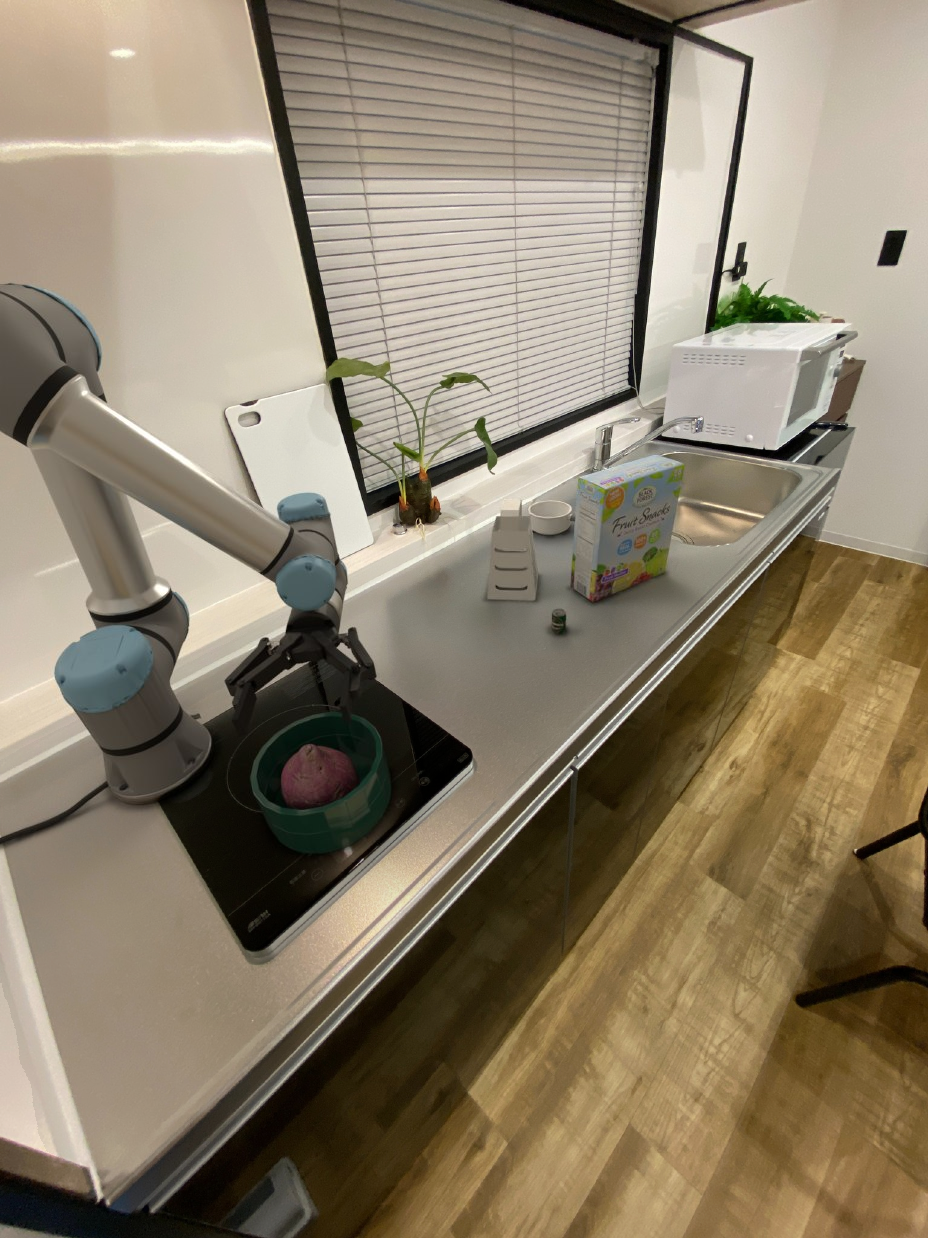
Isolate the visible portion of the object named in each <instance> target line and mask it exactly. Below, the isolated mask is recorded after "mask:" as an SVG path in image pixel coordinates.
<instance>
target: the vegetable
mask: <svg viewBox="0 0 928 1238" xmlns="http://www.w3.org/2000/svg"><path fill="white" fill-rule="evenodd" d="M359 785H360V782H359V777H358V774H357V771H356V768H355V765H354V764H353V762H352V761H351V759H350V758H349V757H348V756H347V755H345V754H344V753H342V752H340V751H337V750H334V749H331V748H328V747H324V746H315V745H313V744H307V745H304V746H303V747H302V748H301V749H300V750H299V752H297V753H296V754H294V755H293V756H292V757H291V758H290V759H289V761H288V762H287V763H286V765H285V767H284V769H283V771H282V776H281V788H282V795H283V798H284V800H285V803H286V805H287V807H288V809H298V810H305V809H311V808H316V807H322V806H325V805H327V804H329V803H332V802H334V801H336V800H339V799H341V798H343V797H344V796H346V795H347V794H348V793H350V792H351V791H352V790H354V789H355V788H356V787H358V786H359Z"/></svg>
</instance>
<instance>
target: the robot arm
mask: <svg viewBox="0 0 928 1238" xmlns="http://www.w3.org/2000/svg"><path fill="white" fill-rule="evenodd" d="M102 353H103V352H102V346H101V341H100V338H99V335H98V334H97V332H96V330H95V328H94V326H93V325H92V324H91V322H90V320H89V319H88V318H87V316H86V315H85V314H83V312H82V311H81V310H80V309H79V308H78V307H77V306H75V305H74V304H73V303H71V302H70V301H69V300H67V299H66V298H64V297H63V296H61V295H59V294H57V293H55V292H54V291H52V290H49V289H46V288H42V287H39V286H35V285H30V284H20V283H14V282H8V283H0V432H1V433H2V434H4V435H5V436H7V437H9V438H11V439H13V440H14V441H16V442H18V443H20V444H21V445H23V446H24V447H26V448H28V449H29V450H30V452H31V454H32V457H33V459H34V461H35V463H36V465H37V468H38V471H39V472H40V475H41V477H42V479H43V481H44V484H45V487H46V489H47V491H48V493H49V495H50V498H51V500H52V502H53V504H54V506H55V507H54V508H55V509H56V511H57V514H58V516H59V518H60V520H61V522H62V524H63V527H64V530H65V532H66V534H67V536H68V538H69V540H70V542H71V545H72V547H73V549H74V552H75V554H76V556H77V559H78V561H79V563H80V566H81V567H82V570H83V573H84V575H85V577H86V579H87V582H88V584H89V586H90V589H91V592H90V593H89V594H88V596H87V598H86V599H85V607H86V609H87V611H88V613H89V616H90V618H91V621H92V622H93V624H94V625H93V626H94V628H95V629H93V630H91V631H88V632H86V633H85V634H83V635H81V636H80V637H79V640H78V641H73V642H71V643H70V644H69V645H68V646H67V647H65V649H64V650H63V651H62V652H61V654H60V655H59V656H58V659H57V660H56V663H55V666H54V672H53V674H54V679H55V683H56V684H57V686H58V688H59V690H60V693H61V695H62V697H63V699H64V701H65V703H67V704H68V705H69V706H70V707H71V708H72V710H73V711H74V713H75V714H76V715H77V718H78V719H79V720H80V721H81V723H82V724H83V726H84V727H85V728H86V730H87V731H88V733H89V734H90V736H91V737H92V738H93V740H94V742H95V743H96V744H97V746H98V747H99V749H100V750H101V751H102V759H103V766H104V771H105V780H106V781H104V782H103V783H102V784H100V785H99V786H97V787H96V788H95V789H93V790H92V791H90V792H89V793H87V794H86V795H85V796H84V797H82V798H81V799H80V800H78V801H77V802H76V803H75V804H73V805H72V806H71V807H70V808H68V809H66V810H65V811H63V812H61V813H59V814H57V815H55V816H53V817H51V818H49V819H47V820H44V821H42V822H38V823H36V824H33V825H30V826H26V827H24V828H22V829H19V830H17V831H13V832H10V833H8V834H6V835H3V836H1V837H0V845H2V844H4V843H6V842H9V841H12V840H14V839H15V840H16V839H17V838H20V837H22V836H26V835H28V834H31V833H34V832H38V831H39V830H42V829H45V828H47V827H50V826H52V825H54V824H56V823H58V822H60V821H62V820H64V819H66V818H68V817H70V816H72V815H73V814H74V813H76V812H77V811H78V810H80V808H82V807H83V806H84V805H86V804H87V803H88V802H89V801H91V800H92V799H94V798H95V797H96V796H98V795H99V794H101V793H102V792H103V791H104V790H106V789H107V788H109V789H110V791H111V793H112V794H113V795H114V796H115V798H117V799H118V800H119V801H121V802H123V803H126V804H129V805H146V804H152V803H157V802H160V801H162V800H165V799H167V798H170V797H172V796H174V795H177V794H178V793H180V792H181V791H184V790H185V789H186V788H187V787H189V786H191V785H192V783H194V782H195V781H197V779H198V778H199V777H200V776H201V775H202V774H203V773H204V772H205V771H206V769H207V768H208V767H209V765H210V763H211V761H212V759H213V757H214V753H215V743H214V739H213V738H212V736H211V733H210V731H209V730H208V728H207V727H206V726H204V724H202V723H201V722H199V721H198V720H200V719H202V716H201V714H200V713H194V714H191V715H190V714H189V713H188V712H186V711H185V709H183V707H182V705H181V704H180V702H179V700H178V698H177V696H176V694H175V692H174V690H173V688H172V686H171V679H172V675H173V672H174V670H175V667H176V664H177V661H178V658H179V656H180V652H181V650H182V647H183V645H184V643H185V642H186V639H187V637H188V634H189V631H190V630H189V627H190V610H189V608H188V605H187V604H186V601H185V600H184V599H183V597H182V596H181V595H180V594H179V593H178V592H177V591H173V590H172V587H171V585H170V582H169V581H168V580H167V579H166V578H164V577H161V576H160V575H157V574H156V573H155V571H154V568H153V565H152V563H151V560H150V557H149V554H148V552H147V551H148V550H147V548H146V546H145V543H144V540H143V537H142V534H141V532H140V529H139V526H138V523H137V520H136V517H135V515H134V512H133V509H132V506H131V504H130V501H129V497H130V498H131V499H133V500H135V501H137V502H138V503H140V504H141V505H143V506H145V507H146V508H148V509H150V510H151V511H154V512H155V513H157V514H158V515H161V516H162V517H163V518H165V519H167V520H168V521H171V522H172V523H174V524H175V525H177V526H178V527H181V528H182V529H183V530H185V531H188V532H189V533H191V534H192V535H194V536H195V537H196V538H197V537H198V538H199V539H201V540H202V541H204V542H206V543H208V544H209V545H210V546H213V547H214V548H216V549H218V550H219V551H221V552H223V553H225V554H226V555H228V556H230V557H231V558H233V559H235V560H237V561H238V562H240V563H241V564H243V565H245V566H246V567H248V568H250V569H252V570H253V571H255V572H257V573H258V574H259V575H261V576H263V577H264V578H265V579H267V580H269V581H270V582H272V583H274V585H275V587H276V592H277V594H278V596H279V598H280V599H281V601H282V602H283V603H284V604H285V605H286V606H288V607H289V608H290V609H291V610H290V614H289V617H288V620H287V623H286V627H285V634H284V635H283V637H281V638H280V640H272V641H270V638H269V637H267V636H265V637H261V638H260V640H259V641H258V644H257V646H256V648H255V649H253V651H252V652H250V653H249V654H248V655H247V656H246V658H244V659H243V660H242V661H241V662H240V663H239V664H238V666H237V667H236V668H235V669H234V670H233V671H232V672H231V673H230V674H229V675H227V677H226V678H225V679H224V684H225V686H226V689H227V690H228V692H229V695H230V697H233V698H232V700H231V705H232V707H233V710H234V712H233V715H232V717H231V718H232V719H231V722H232V724H233V726H234V728H235V731H236V733H237V736H238V737H242V736H243V737H244V736H246V734H247V732H248V727H249V724H250V722H251V719H252V715H253V713H254V709H255V706H256V703H257V700H258V697H257V695H256V693H257V692H259V691H260V690H261V689H262V688H264V687H265V686H267V685H268V684H269V683H270V682H272V681H273V680H274V679H275V678H277V677H278V676H279V675H281V673H283V672H284V671H285V670H287V671H290V670H291V669H293V668H294V667H295V666H296V665H301V664H305V663H319V662H320V661H322V660H323V661H324V662H325V663H326V664H328V666H333V667H334V668H335V669H336V670H337V671H338V672H339V673H341V674H342V675H343V679H342V687H341V694H340V702H339V709H340V713H342V717H343V720H344V723H348V722H351V714H352V713H353V712H352V711H353V703H354V702H353V701H354V700H357V699H358V700H359V699H360V698H361V696H362V688H363V682H364V681H365V680H369V681H374V680H376V679H377V671H376V665H375V662H374V660H373V659H372V657H371V655H370V654H369V652H368V651H367V650H366V648H365V647H364V645H363V644H362V642H361V640H360V639H359V635H358V629H357V627H355V626H352V627H349V628H347V632H343V633H340V628H341V622H342V621H341V620H342V615H343V608H344V603H345V597H346V591H347V588H348V587H347V586H348V584H349V579H348V569H347V567H346V564H345V562H344V561H342V560H341V558H340V555H339V551H338V546H337V541H336V536H335V532H334V527H333V522H332V518H331V516H332V515H331V512H330V510H329V507H328V503H327V500H326V498H325V497H324V496H323V495H322V494H319V493H316V492H298V493H293V494H291V495H288V496H286V497H284V498H282V499H281V500H280V501H279V502H278V503H277V504H276V511H277V516H276V515H274V514H273V513H271V512H270V511H268V510H267V509H265V508H264V507H263V506H261V505H260V504H258V503H256V502H255V501H254V500H252V499H250V498H249V497H248V496H246V495H245V494H243V493H242V492H240V491H238V490H237V489H235V487H233V486H231V485H229V484H228V483H227V482H225V481H223V480H222V479H220V478H219V477H217V476H216V475H215V474H213V473H212V472H210V471H208V470H207V469H206V468H205V467H203V466H202V465H200V464H198V463H197V462H196V461H194V460H192V459H191V458H189V457H188V456H186V455H185V454H184V453H182V452H180V451H179V450H177V449H176V448H175V447H173V446H172V445H170V444H169V443H167V442H166V441H164V440H163V439H161V438H160V437H158V436H156V435H155V434H154V433H152V432H151V431H149V430H148V429H147V428H145V427H143V426H141V425H140V424H139V423H138V422H136V421H134V420H133V419H131V418H130V417H128V416H126V414H124V413H122V412H121V411H119V410H118V409H117V408H115V407H113V406H112V405H110V404H109V403H108V401H107V398H106V395H105V391H104V389H103V385H102V382H101V380H100V376H99V373H98V372H99V371H100V368H101V365H102V357H103V355H102ZM341 644H343V645H344V646H345V647H346V648H347V649H349V650H350V651H351V654H352V656H353V657H354V658H355V660H356V662H355V661H354V660H353V659H352V658H350V657H349V656H348V655H346V654H345V653H344V652H342V650H340V649H339V648H338V647H339V646H340V645H341Z"/></svg>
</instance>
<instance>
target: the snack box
mask: <svg viewBox="0 0 928 1238" xmlns="http://www.w3.org/2000/svg"><path fill="white" fill-rule="evenodd" d="M685 467H686V464H685V463H683V462H682V461H678V460H675V459H673V458H668V457H666V456H662V455H659V454H652V455H649V456H645V457H642V458H638V459H635V460H632V461H628V462H625V463H621V464H618V465H614V466H612V467H608V468H604V469H602V470H599V471H596V472H593V473H589V474H585V475H582V476H579V477H578V478H577V487H576V488H577V490H576V491H577V492H576V503H575V514H576V516H575V521H574V532H573V544H572V545H573V546H572V559H571V572H570V584H569V585H570V588H572V589H573V590H575V591H577V592H578V593H579V594H581V595H582V596H583V597H585V598H586V599H588V600H589V601H591V603H595V602H597V601H600V600H603V599H605V598H607V597H609V596H612V595H614V594H616V593H619V592H621V591H624V590H626V589H628V588H631V587H633V586H635V585H638V584H640V583H642V582H645V581H647V580H650V579H652V578H655V577H657V576H659V575H660V576H661V575H662V574H664V573H666V568H667V563H668V558H669V554H670V553H669V551H670V548H671V547H670V546H671V542H672V536H673V530H674V525H675V520H676V513H677V509H678V503H679V499H680V493H681V487H682V481H683V477H684V472H685Z"/></svg>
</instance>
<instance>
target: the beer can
mask: <svg viewBox="0 0 928 1238" xmlns="http://www.w3.org/2000/svg"><path fill="white" fill-rule="evenodd" d="M551 631H552V632H553V633H554V634H556V635H562V634H563V633H565V632H566V631H567V611H566V610H564V609H563V608H555V609H553V610H552V612H551Z"/></svg>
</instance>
